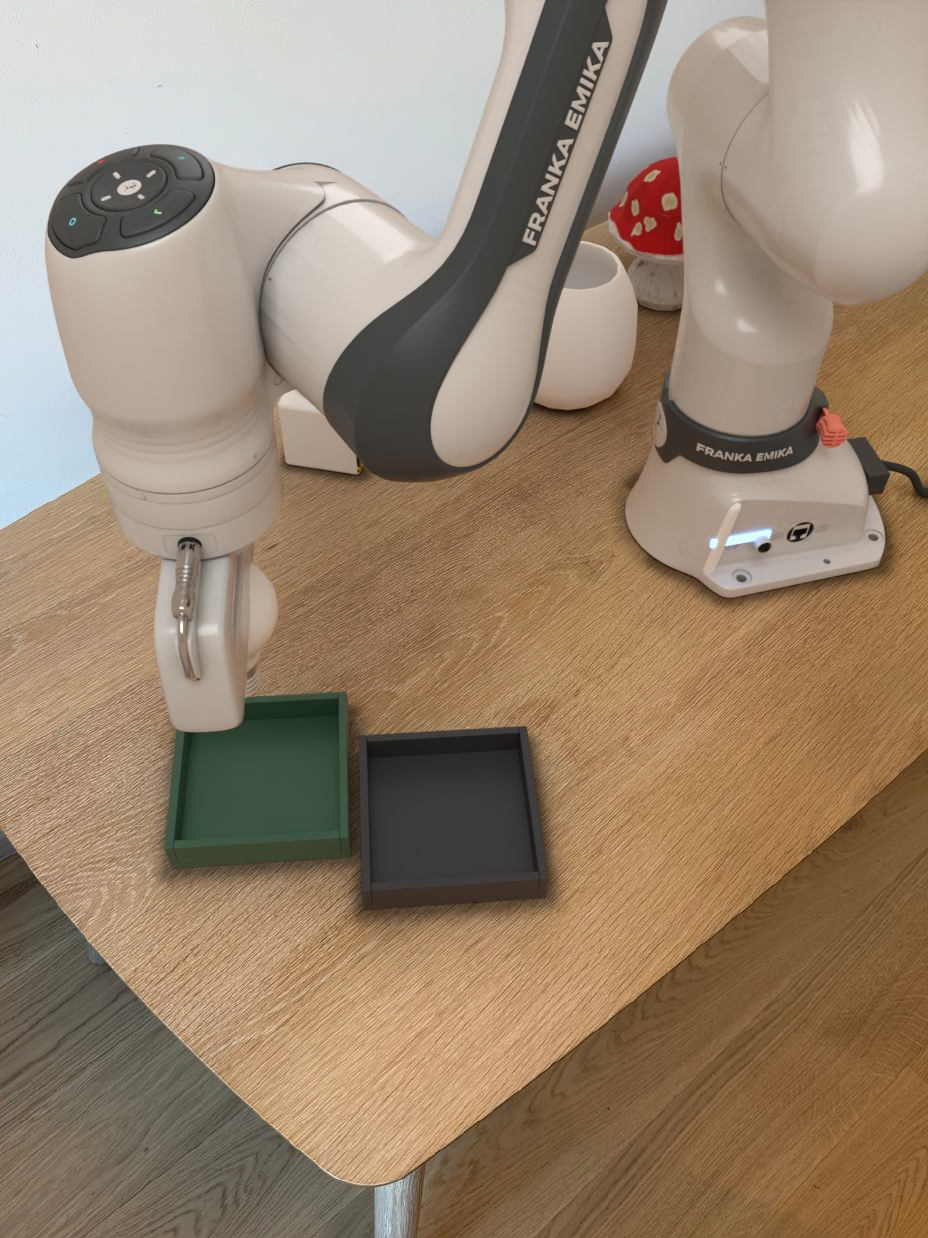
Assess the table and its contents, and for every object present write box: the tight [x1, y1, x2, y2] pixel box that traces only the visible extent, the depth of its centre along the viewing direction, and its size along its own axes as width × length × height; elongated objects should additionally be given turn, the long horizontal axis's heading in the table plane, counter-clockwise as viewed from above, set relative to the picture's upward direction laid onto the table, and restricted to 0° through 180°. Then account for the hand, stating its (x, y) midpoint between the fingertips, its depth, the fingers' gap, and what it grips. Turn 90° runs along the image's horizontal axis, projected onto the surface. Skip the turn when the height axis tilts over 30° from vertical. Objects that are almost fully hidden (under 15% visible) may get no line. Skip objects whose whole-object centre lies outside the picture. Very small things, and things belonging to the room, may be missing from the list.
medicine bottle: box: [277, 389, 364, 476], centre depth 99 cm, size 7×7×12 cm
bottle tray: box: [357, 725, 549, 911], centre depth 76 cm, size 12×12×3 cm
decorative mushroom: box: [607, 156, 684, 312], centre depth 115 cm, size 14×14×15 cm
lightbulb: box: [245, 562, 280, 698], centre depth 66 cm, size 6×6×11 cm
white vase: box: [534, 240, 639, 411], centre depth 105 cm, size 13×13×14 cm
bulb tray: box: [163, 691, 352, 869], centre depth 78 cm, size 12×12×3 cm
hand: (233, 646), depth 67 cm, fingers closed on lightbulb, 5 cm apart
